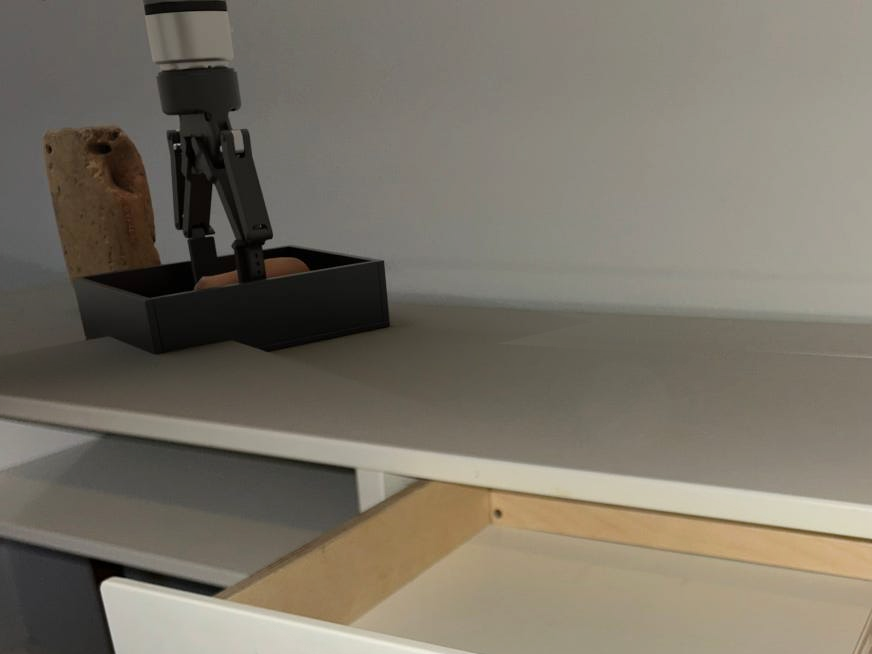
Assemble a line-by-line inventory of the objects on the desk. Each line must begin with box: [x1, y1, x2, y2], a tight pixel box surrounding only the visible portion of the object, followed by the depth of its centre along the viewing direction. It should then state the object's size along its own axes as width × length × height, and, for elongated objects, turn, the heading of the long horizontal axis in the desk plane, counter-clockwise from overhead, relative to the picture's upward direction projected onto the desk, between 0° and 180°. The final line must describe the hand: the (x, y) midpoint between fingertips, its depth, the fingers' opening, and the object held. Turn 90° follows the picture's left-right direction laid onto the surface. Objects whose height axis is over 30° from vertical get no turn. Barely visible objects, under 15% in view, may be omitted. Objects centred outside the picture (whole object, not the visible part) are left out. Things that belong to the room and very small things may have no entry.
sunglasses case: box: [193, 257, 310, 291], centre depth 110 cm, size 18×7×7 cm
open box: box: [72, 244, 391, 356], centre depth 111 cm, size 26×20×7 cm
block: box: [42, 124, 162, 291], centre depth 123 cm, size 11×8×20 cm
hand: (233, 308), depth 111 cm, fingers closed on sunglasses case, 10 cm apart
